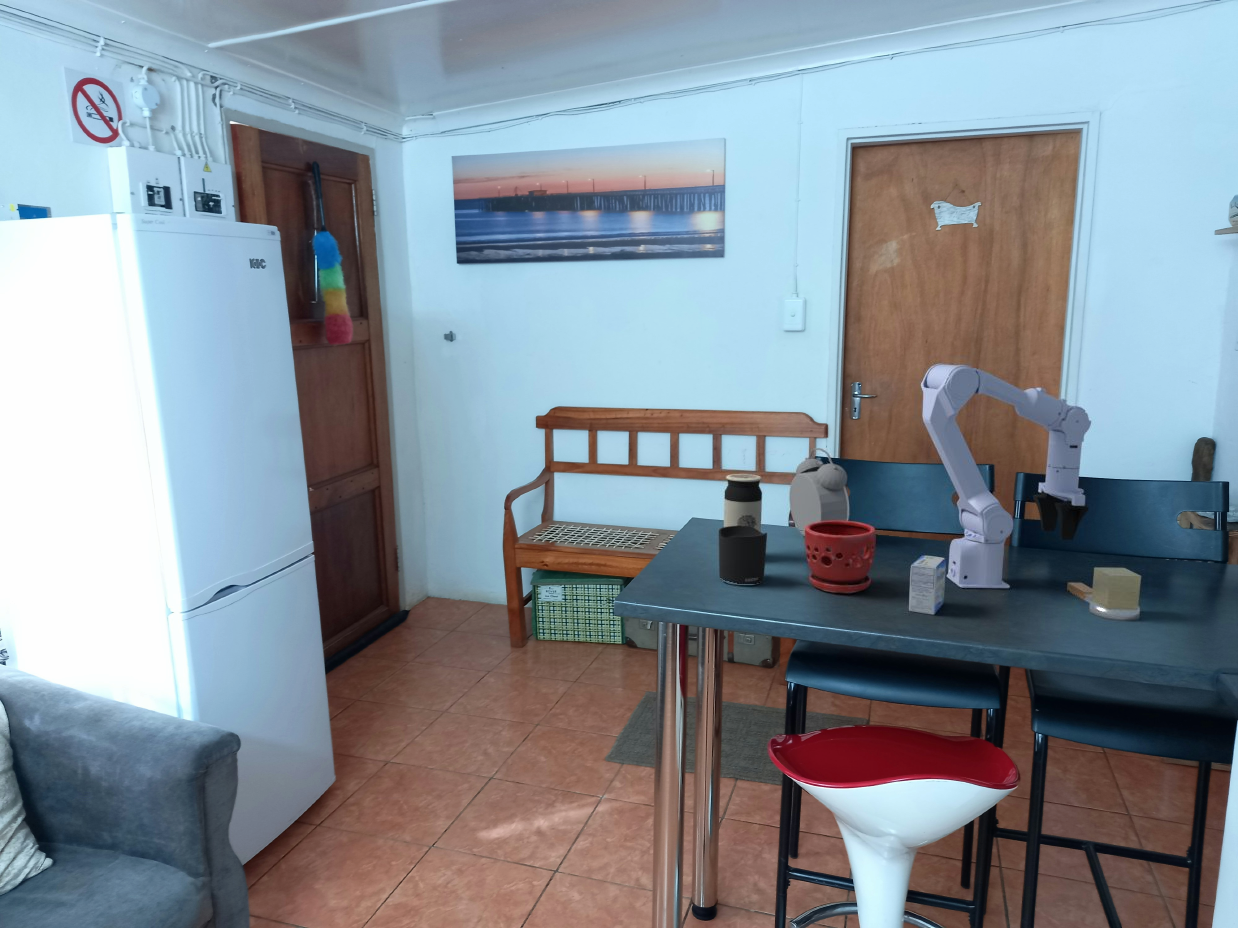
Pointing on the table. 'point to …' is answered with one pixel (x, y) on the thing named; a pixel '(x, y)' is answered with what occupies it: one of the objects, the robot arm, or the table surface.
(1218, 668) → the table surface
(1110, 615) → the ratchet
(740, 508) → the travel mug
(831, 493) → the alarm clock
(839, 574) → the plant pot
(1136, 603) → the brushed metal cube
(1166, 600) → the table surface
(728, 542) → the pen holder
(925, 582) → the medicine box
